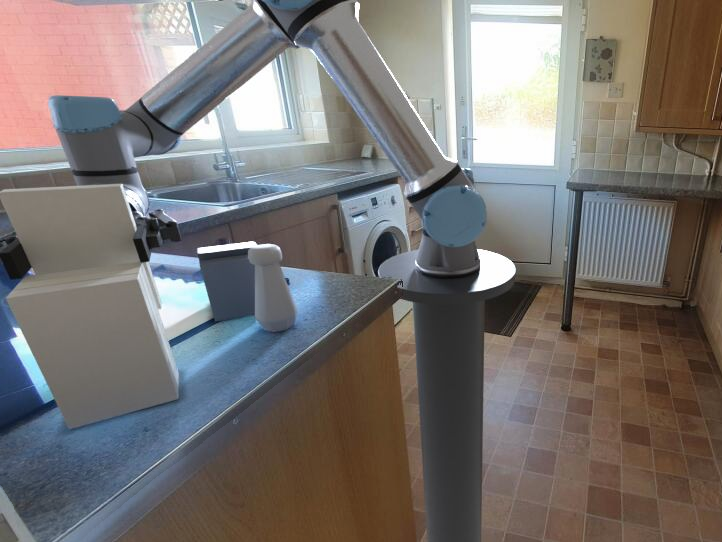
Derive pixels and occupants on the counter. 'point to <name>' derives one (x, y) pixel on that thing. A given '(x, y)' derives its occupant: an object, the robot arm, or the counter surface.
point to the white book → (75, 228)
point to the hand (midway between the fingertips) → (79, 257)
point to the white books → (97, 340)
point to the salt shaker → (271, 289)
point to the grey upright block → (229, 279)
